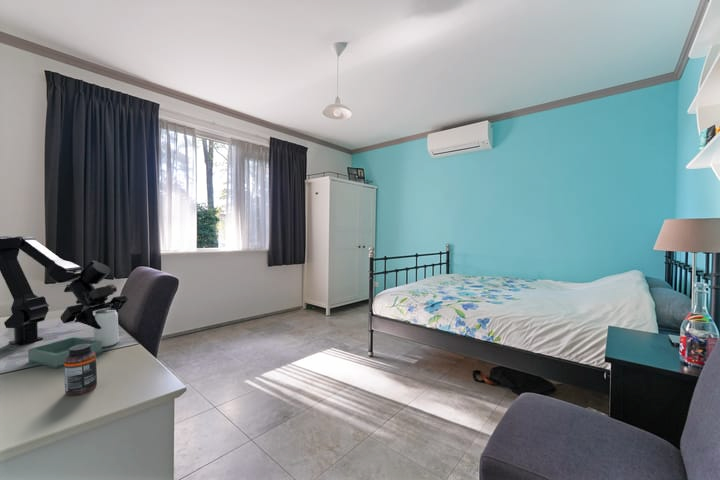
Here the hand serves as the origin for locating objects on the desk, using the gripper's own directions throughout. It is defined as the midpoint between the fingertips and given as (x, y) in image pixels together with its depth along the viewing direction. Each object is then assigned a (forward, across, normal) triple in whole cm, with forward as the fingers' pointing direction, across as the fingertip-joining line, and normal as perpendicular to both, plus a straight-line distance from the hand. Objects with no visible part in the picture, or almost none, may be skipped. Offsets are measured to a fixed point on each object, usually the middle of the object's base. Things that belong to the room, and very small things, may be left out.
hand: (109, 326), depth 105 cm
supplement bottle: (+22, -24, -12) cm, 35 cm away
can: (+4, 0, +6) cm, 7 cm away
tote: (+3, -12, +6) cm, 13 cm away
